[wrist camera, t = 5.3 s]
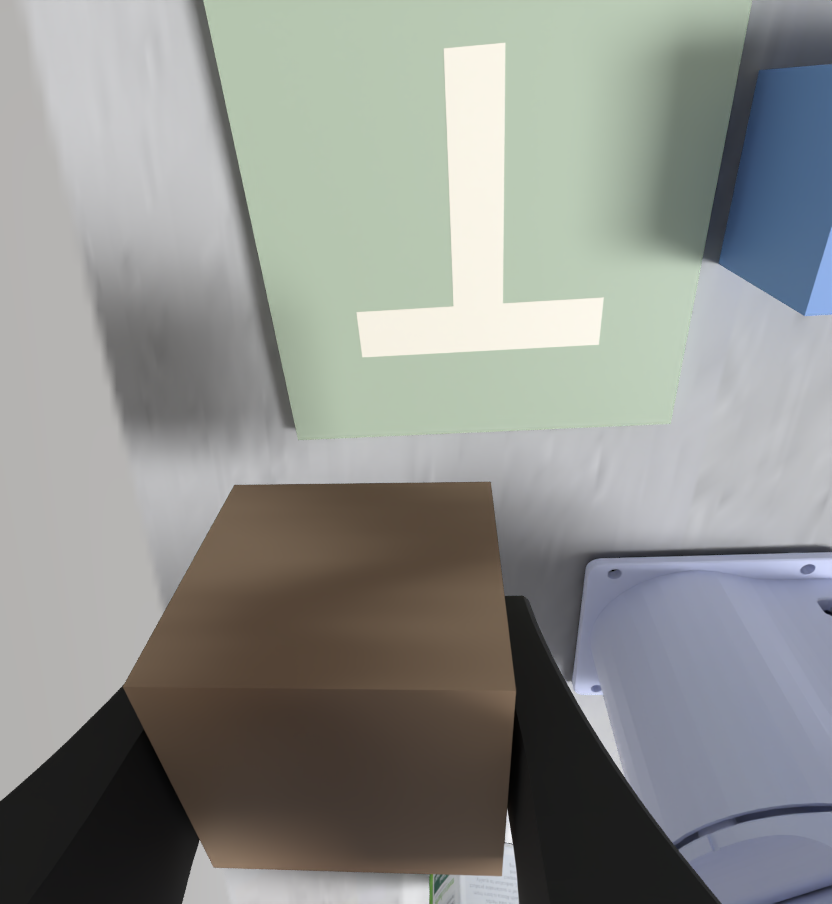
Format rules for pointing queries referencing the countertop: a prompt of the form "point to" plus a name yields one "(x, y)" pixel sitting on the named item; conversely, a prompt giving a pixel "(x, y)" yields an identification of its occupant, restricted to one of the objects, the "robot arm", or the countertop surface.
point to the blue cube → (786, 191)
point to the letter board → (479, 202)
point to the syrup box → (477, 886)
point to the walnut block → (339, 681)
